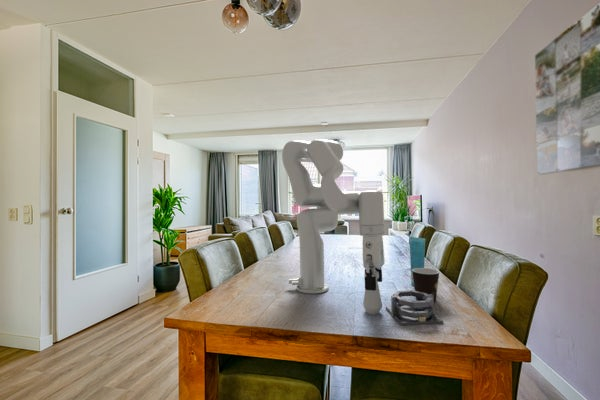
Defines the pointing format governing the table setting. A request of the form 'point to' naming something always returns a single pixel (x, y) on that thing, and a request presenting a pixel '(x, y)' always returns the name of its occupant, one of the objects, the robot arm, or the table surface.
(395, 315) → the collar stand
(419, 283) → the coffee mug
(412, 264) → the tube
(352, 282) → the table surface
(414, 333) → the table surface
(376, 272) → the salt shaker
